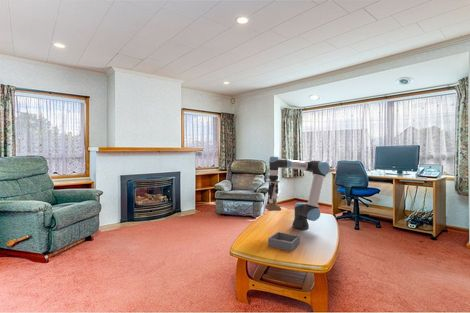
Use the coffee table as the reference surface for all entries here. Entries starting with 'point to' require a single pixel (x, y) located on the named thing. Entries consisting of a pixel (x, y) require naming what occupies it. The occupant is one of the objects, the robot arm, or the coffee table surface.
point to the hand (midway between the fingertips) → (273, 202)
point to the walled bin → (284, 241)
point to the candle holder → (274, 205)
